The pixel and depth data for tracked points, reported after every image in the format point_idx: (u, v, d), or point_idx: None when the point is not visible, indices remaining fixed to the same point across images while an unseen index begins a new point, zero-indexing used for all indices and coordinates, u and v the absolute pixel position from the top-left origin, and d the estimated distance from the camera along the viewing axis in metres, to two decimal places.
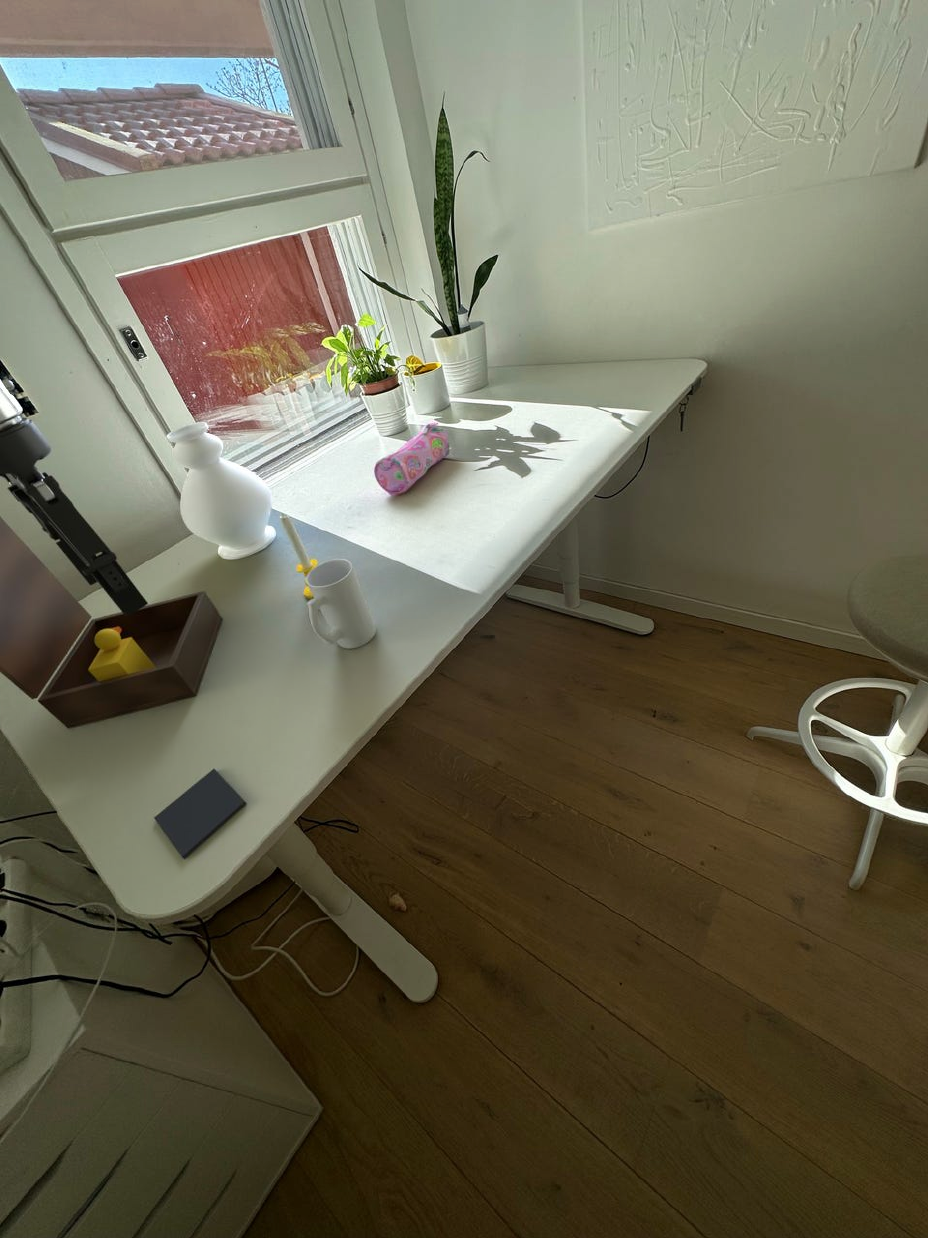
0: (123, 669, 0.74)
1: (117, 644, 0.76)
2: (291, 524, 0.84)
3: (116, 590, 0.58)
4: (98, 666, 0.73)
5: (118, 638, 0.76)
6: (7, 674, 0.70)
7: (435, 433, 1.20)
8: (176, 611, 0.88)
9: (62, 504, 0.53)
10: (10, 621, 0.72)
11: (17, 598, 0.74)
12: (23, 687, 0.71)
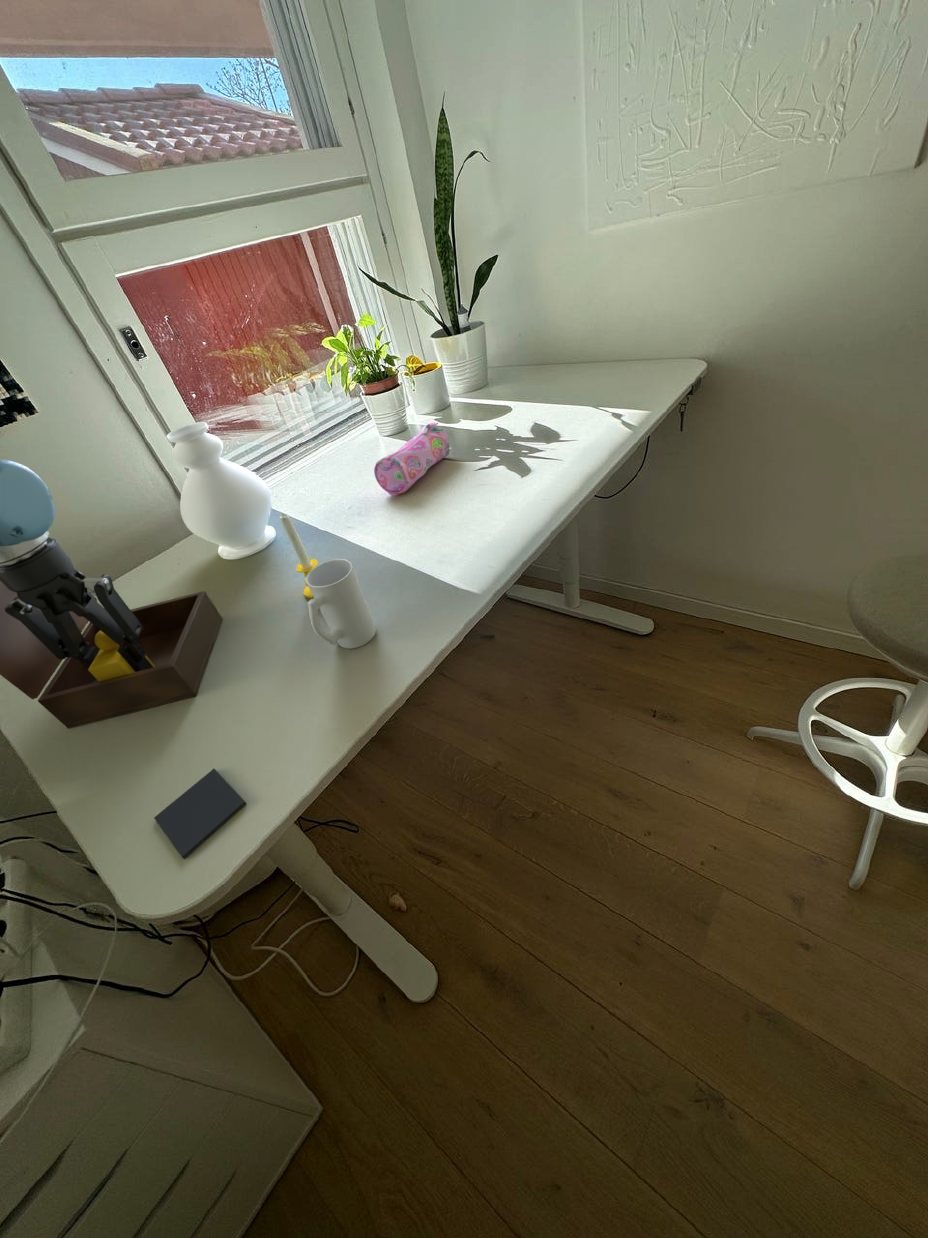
0: (123, 669, 0.74)
1: (117, 644, 0.76)
2: (291, 524, 0.84)
3: (142, 657, 0.76)
4: (98, 666, 0.73)
5: None
6: (5, 675, 0.70)
7: (435, 433, 1.20)
8: (176, 611, 0.88)
9: (114, 594, 0.70)
10: (6, 622, 0.72)
11: (12, 599, 0.74)
12: (22, 687, 0.71)
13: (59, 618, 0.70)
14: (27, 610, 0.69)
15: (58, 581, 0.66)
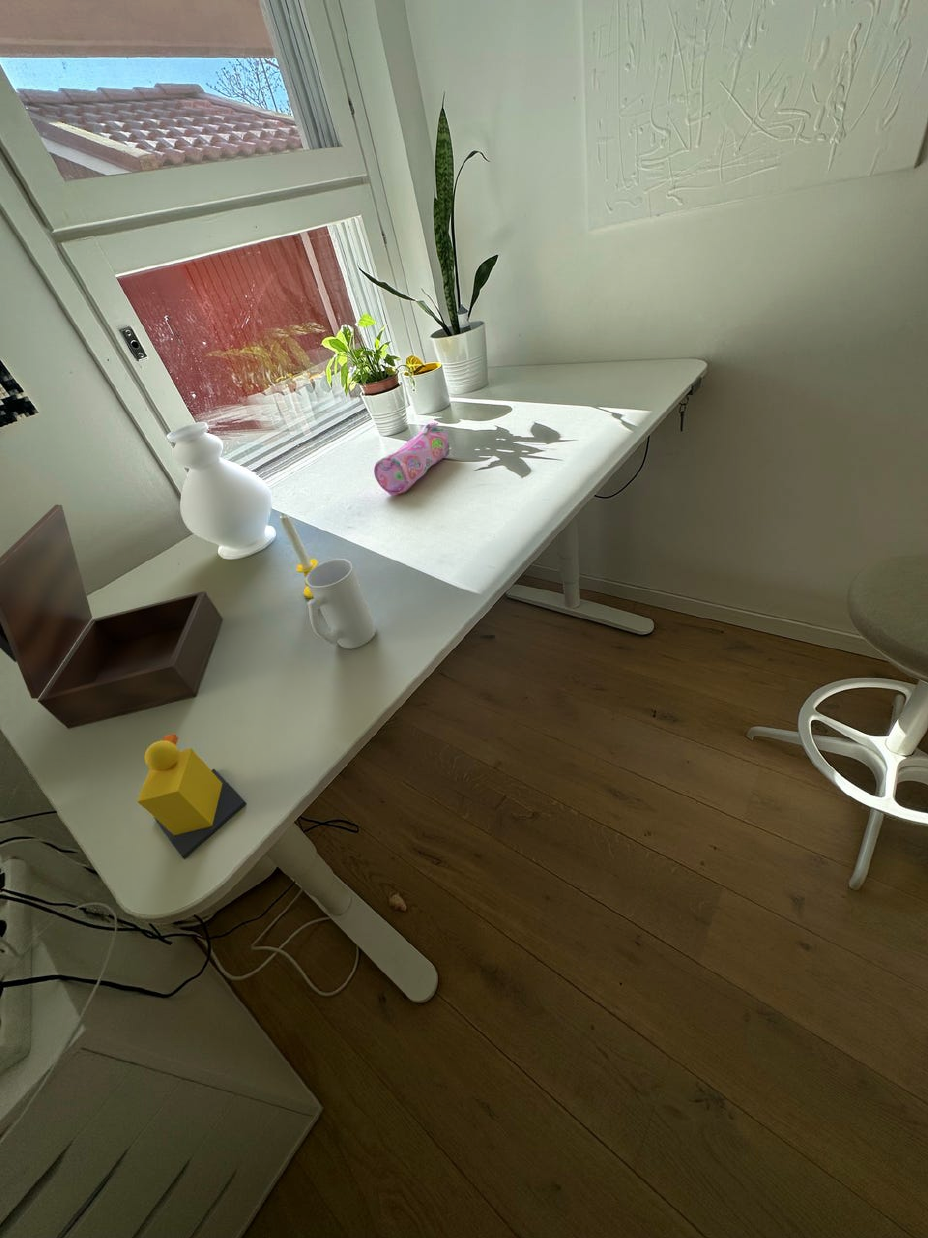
0: (184, 799, 0.55)
1: (174, 762, 0.56)
2: (291, 524, 0.84)
3: None
4: (151, 797, 0.54)
5: (175, 755, 0.56)
6: (25, 672, 0.70)
7: (435, 433, 1.20)
8: (176, 611, 0.88)
9: None
10: (42, 619, 0.72)
11: (52, 596, 0.75)
12: (31, 687, 0.71)
13: None
14: None
15: None
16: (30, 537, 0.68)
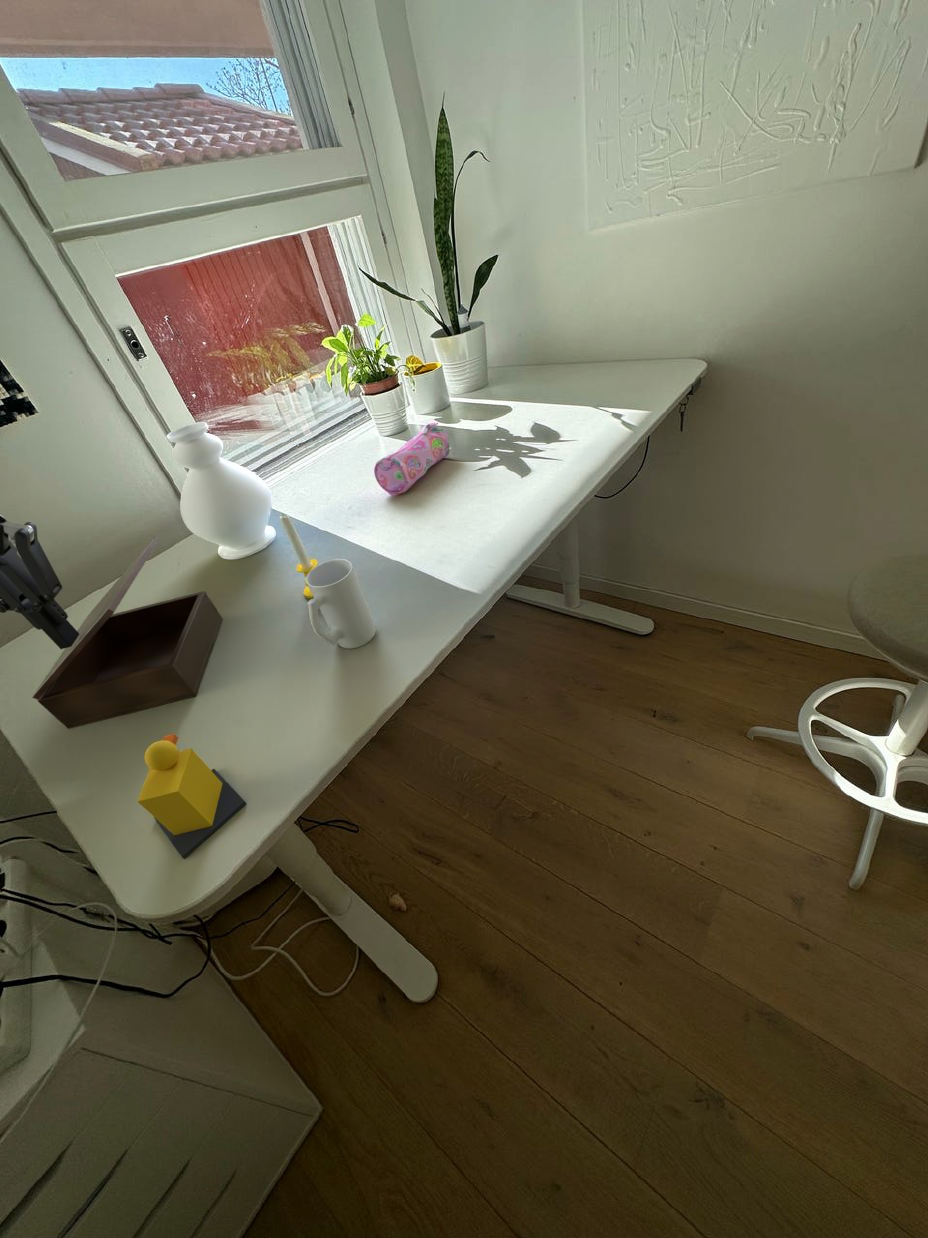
0: (184, 799, 0.55)
1: (174, 762, 0.56)
2: (291, 524, 0.84)
3: (62, 620, 0.69)
4: (151, 797, 0.54)
5: (175, 755, 0.56)
6: (52, 679, 0.71)
7: (435, 433, 1.20)
8: (176, 611, 0.88)
9: (36, 545, 0.63)
10: None
11: None
12: (44, 690, 0.72)
13: None
14: None
15: None
16: (138, 572, 0.74)
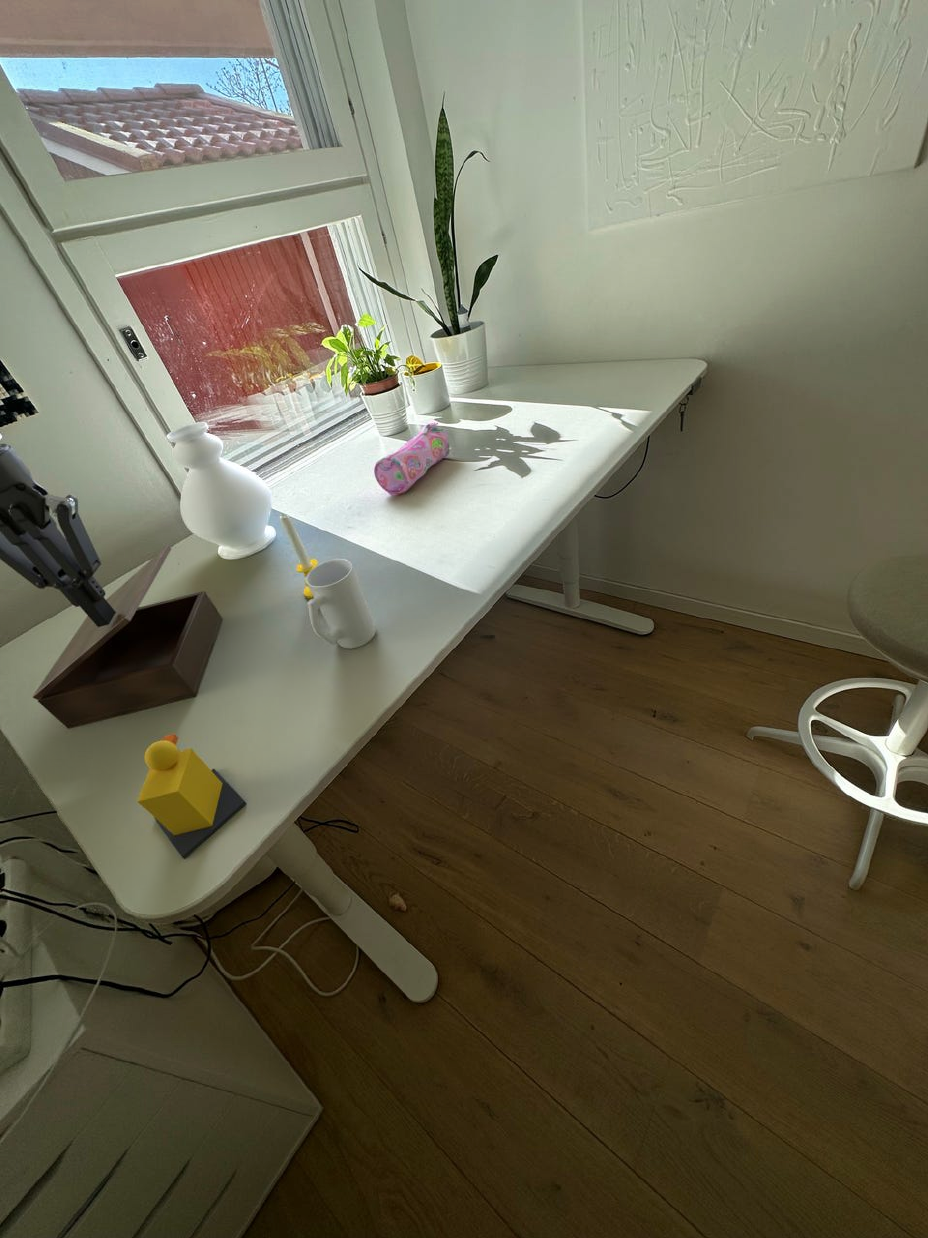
0: (184, 799, 0.55)
1: (174, 762, 0.56)
2: (291, 524, 0.84)
3: (100, 597, 0.68)
4: (151, 797, 0.54)
5: (175, 755, 0.56)
6: (56, 681, 0.71)
7: (435, 433, 1.20)
8: (176, 611, 0.88)
9: (77, 519, 0.62)
10: None
11: None
12: (46, 691, 0.72)
13: (22, 538, 0.61)
14: None
15: (15, 491, 0.58)
16: (152, 581, 0.75)
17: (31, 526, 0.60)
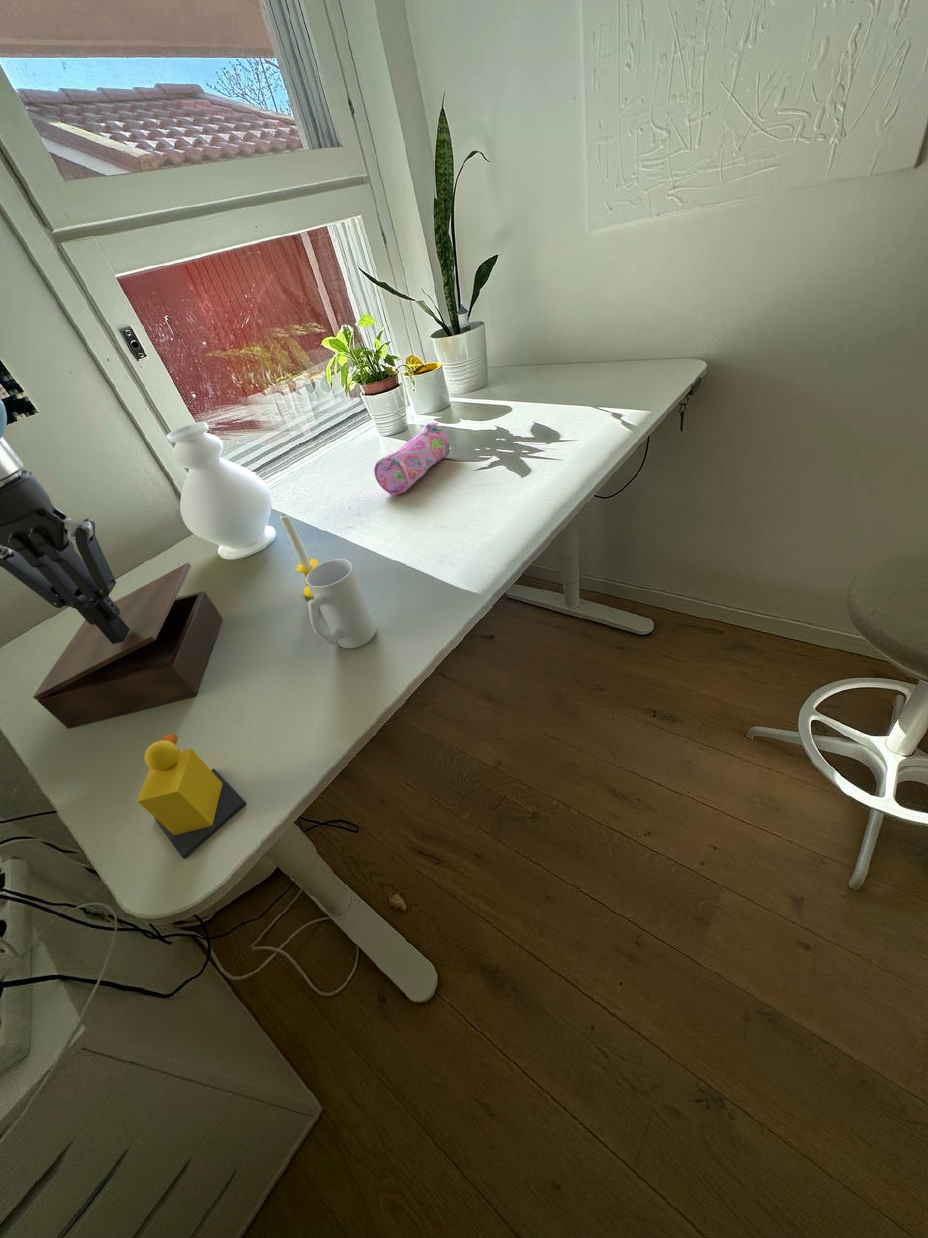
0: (184, 799, 0.55)
1: (174, 762, 0.56)
2: (291, 524, 0.84)
3: (116, 615, 0.70)
4: (151, 797, 0.54)
5: (175, 755, 0.56)
6: (63, 685, 0.72)
7: (435, 433, 1.20)
8: (176, 611, 0.88)
9: (94, 542, 0.64)
10: None
11: None
12: (48, 693, 0.72)
13: (41, 560, 0.63)
14: (7, 554, 0.62)
15: (35, 516, 0.60)
16: None
17: (50, 549, 0.62)
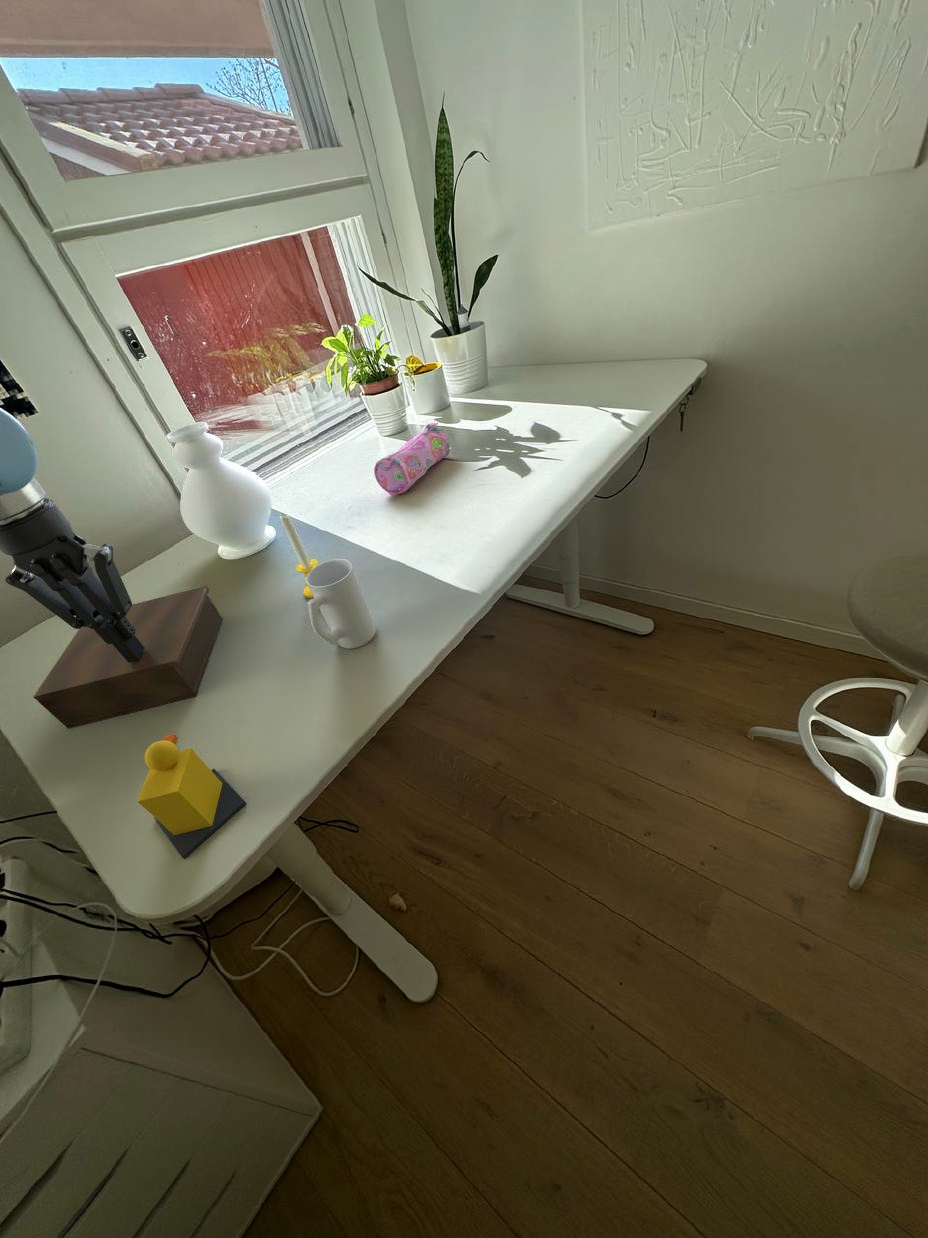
0: (184, 799, 0.55)
1: (174, 762, 0.56)
2: (291, 524, 0.84)
3: (132, 635, 0.72)
4: (151, 797, 0.54)
5: (175, 755, 0.56)
6: (69, 690, 0.73)
7: (435, 433, 1.20)
8: None
9: (112, 566, 0.66)
10: None
11: None
12: (51, 695, 0.73)
13: (62, 584, 0.65)
14: (28, 578, 0.65)
15: (57, 543, 0.62)
16: None
17: (70, 574, 0.64)
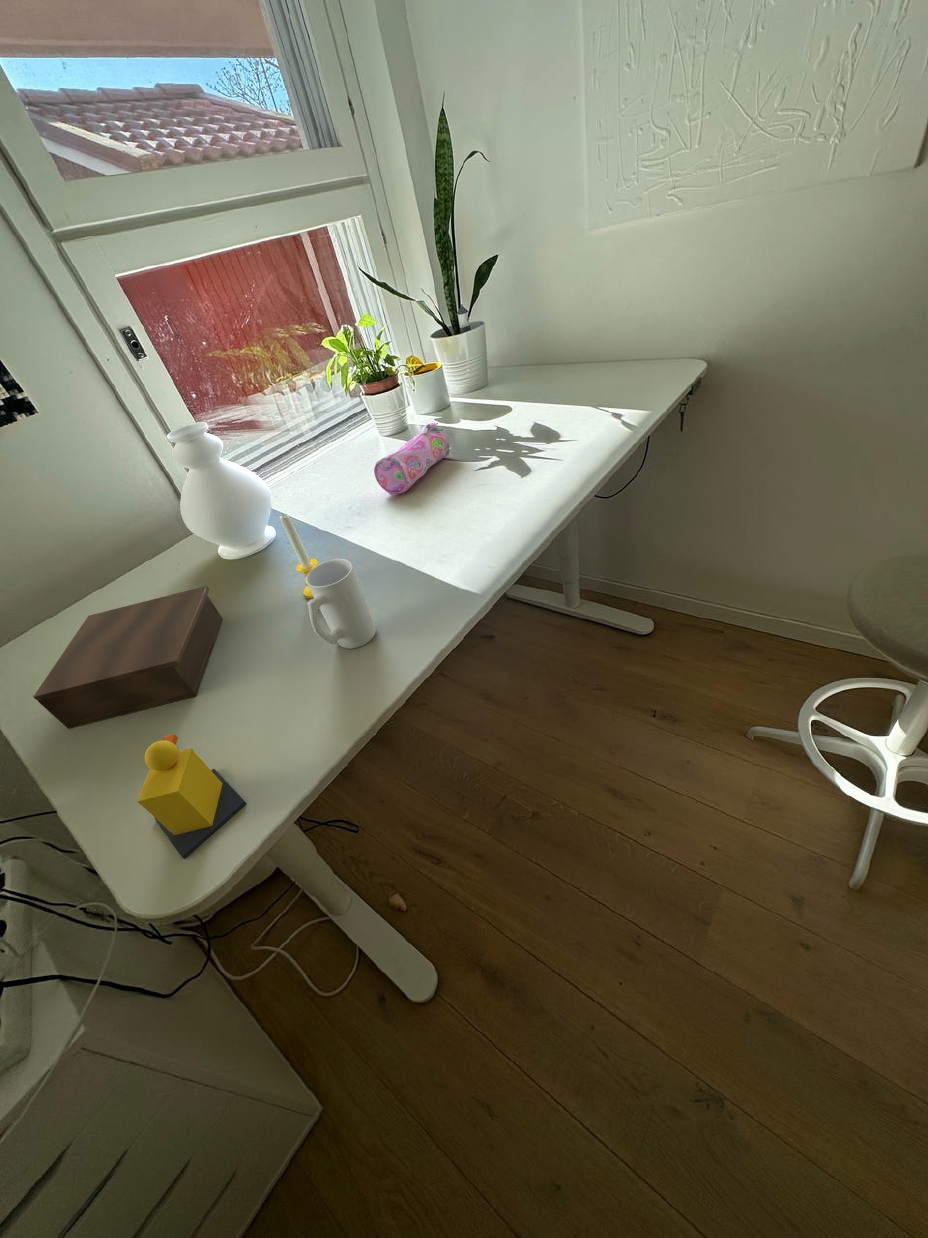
0: (184, 799, 0.55)
1: (174, 762, 0.56)
2: (291, 524, 0.84)
3: None
4: (151, 797, 0.54)
5: (175, 755, 0.56)
6: (69, 690, 0.73)
7: (435, 433, 1.20)
8: None
9: None
10: None
11: None
12: (51, 695, 0.73)
13: None
14: None
15: None
16: None
17: None
